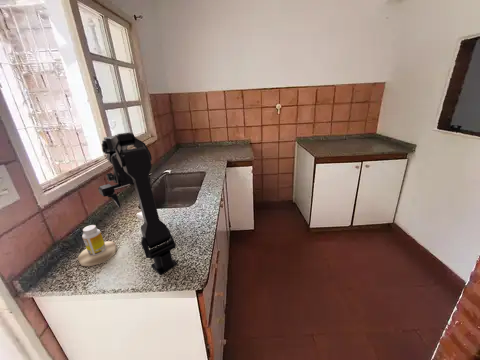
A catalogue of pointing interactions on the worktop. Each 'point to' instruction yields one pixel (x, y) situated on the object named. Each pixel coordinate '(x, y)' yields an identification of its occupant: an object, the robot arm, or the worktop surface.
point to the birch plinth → (97, 259)
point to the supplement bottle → (93, 240)
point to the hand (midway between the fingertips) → (131, 203)
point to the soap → (140, 215)
